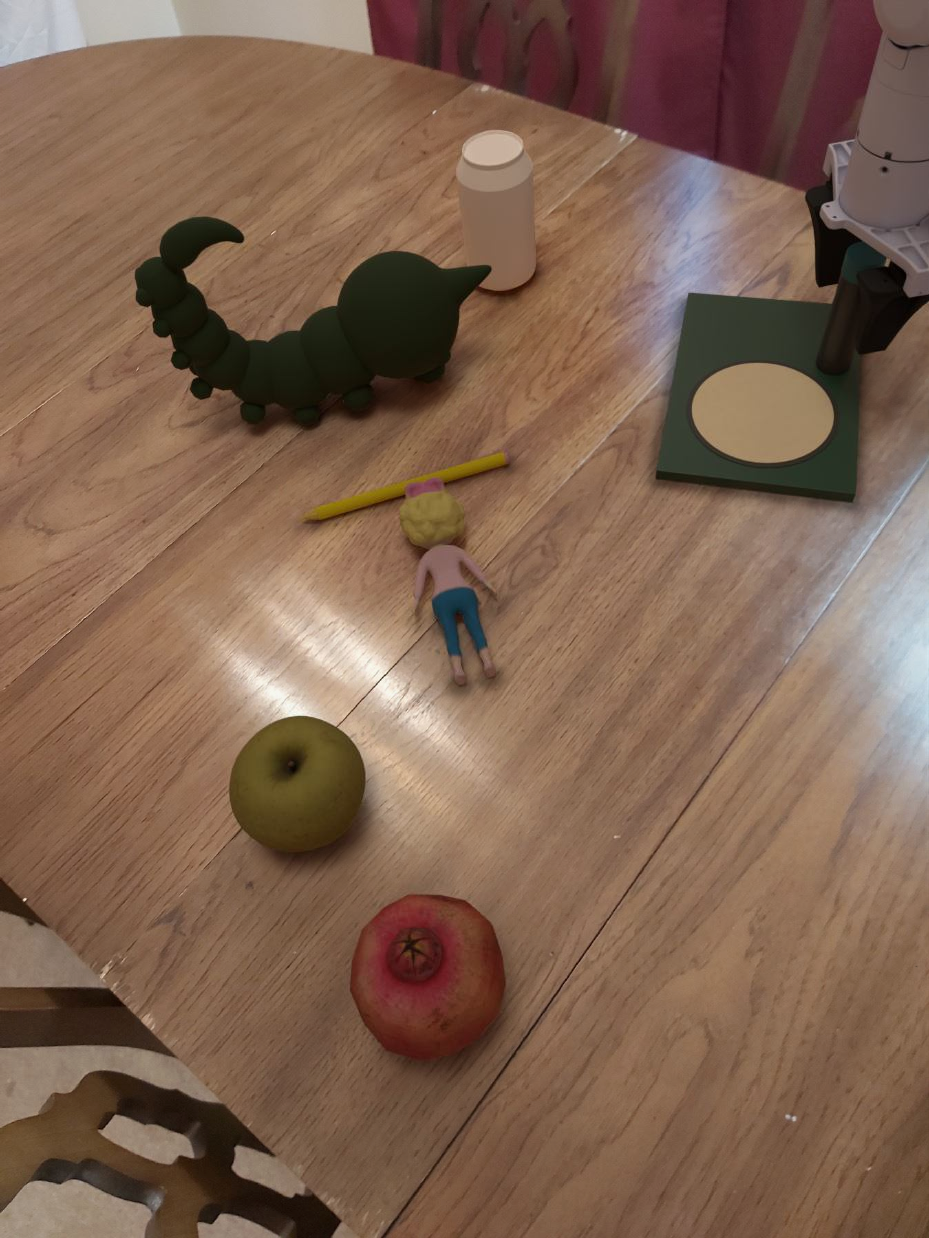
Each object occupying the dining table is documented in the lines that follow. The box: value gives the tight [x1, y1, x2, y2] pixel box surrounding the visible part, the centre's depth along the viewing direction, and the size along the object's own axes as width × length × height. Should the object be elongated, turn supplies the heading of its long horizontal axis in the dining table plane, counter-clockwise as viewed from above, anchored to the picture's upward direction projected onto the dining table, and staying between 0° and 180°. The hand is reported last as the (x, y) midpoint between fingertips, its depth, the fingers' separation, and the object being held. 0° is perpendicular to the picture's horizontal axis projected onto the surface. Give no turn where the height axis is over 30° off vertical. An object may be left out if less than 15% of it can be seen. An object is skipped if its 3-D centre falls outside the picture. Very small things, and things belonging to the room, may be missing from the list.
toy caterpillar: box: [134, 216, 492, 427], centre depth 70 cm, size 9×19×25 cm
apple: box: [228, 715, 367, 853], centre depth 55 cm, size 8×8×7 cm
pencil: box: [299, 450, 510, 521], centre depth 70 cm, size 16×1×1 cm, turn 107°
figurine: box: [398, 477, 498, 686], centre depth 64 cm, size 6×4×15 cm
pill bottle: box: [815, 241, 888, 375], centre depth 68 cm, size 3×3×10 cm
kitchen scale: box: [655, 292, 862, 503], centre depth 73 cm, size 20×14×1 cm
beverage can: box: [455, 129, 537, 292], centre depth 79 cm, size 6×6×12 cm
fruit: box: [349, 893, 507, 1062], centre depth 47 cm, size 8×8×10 cm
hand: (849, 315), depth 69 cm, fingers open, 7 cm apart
